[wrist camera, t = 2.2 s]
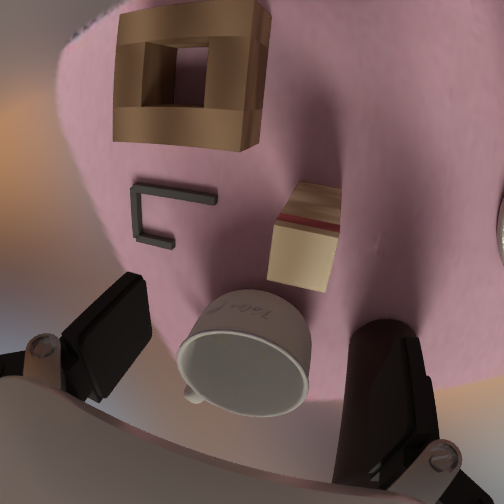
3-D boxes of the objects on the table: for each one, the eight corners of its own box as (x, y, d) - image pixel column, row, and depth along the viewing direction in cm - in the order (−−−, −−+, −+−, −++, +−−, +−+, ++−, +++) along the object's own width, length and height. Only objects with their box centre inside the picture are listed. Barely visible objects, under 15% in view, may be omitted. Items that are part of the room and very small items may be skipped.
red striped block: (342, 189, 22) (339, 238, 15) (334, 228, 24) (325, 293, 16) (299, 180, 23) (273, 224, 15) (293, 220, 25) (266, 279, 17)
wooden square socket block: (271, 16, 18) (254, -1, 14) (258, 143, 23) (239, 152, 19) (153, 22, 20) (119, 14, 16) (146, 133, 25) (112, 141, 21)
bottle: (399, 305, 25) (409, 541, 8) (426, 351, 26) (437, 551, 9) (335, 336, 28) (293, 549, 11) (367, 376, 30) (345, 562, 13)
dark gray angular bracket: (217, 194, 26) (214, 197, 25) (215, 255, 28) (211, 259, 28) (134, 182, 27) (129, 184, 27) (137, 237, 30) (133, 240, 29)
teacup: (280, 254, 26) (254, 312, 20) (339, 344, 29) (330, 410, 22) (171, 307, 33) (132, 356, 26) (230, 376, 35) (205, 429, 29)
